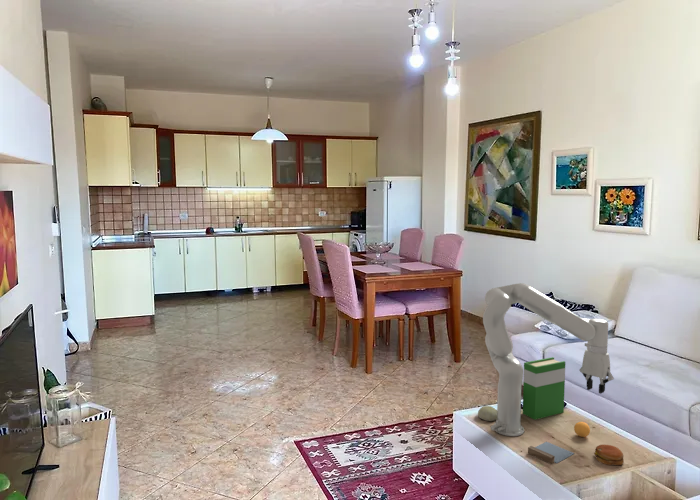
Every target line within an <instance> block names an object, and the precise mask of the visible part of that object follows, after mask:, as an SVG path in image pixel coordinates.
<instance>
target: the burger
mask: <svg viewBox="0 0 700 500" xmlns="http://www.w3.org/2000/svg"><path fill="white" fill-rule="evenodd" d="M593 454H594V456H595V459H596V461H598V462H599V463H601V464H603V465H605V466H606V465H607V466H613V465H614V466H619V465H620V466H621V465H624V453H623V452H622V450H621V449H619V448H618V447H617V446H615V445H611V444H599V445H597V446H596V447H595V450H594V452H593Z"/></svg>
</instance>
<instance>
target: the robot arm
mask: <svg viewBox="0 0 700 500" xmlns="http://www.w3.org/2000/svg"><path fill="white" fill-rule="evenodd" d="M484 301H485V303H486V305H487V306H486V308H485V309H484V312H483V313H482V314H483V316H482V323H483V326H484V330H485V333H486V334H485V338H484V341H485V343H484V344H485V346H486V349H487V351H488V354H489V357H490V359H491V362H492V365H493V367H494V369H495V370H496V371H497V373H498V383H497V404H496V405H497V407H496V408H497V409H496V410H497V420H495V422H494V423H493V424H492V425H491V426H490V430H491V431H495V432H496V433H497V434H500V435H503V436H507V437H517V436H518V437H519V436H521V435H523V434H524V433H525V428H524V426H523V425H521V418H522V417H521V416H522V414H521V413H522V411H521V410H522V387H523V386H522V385H523V380H524V367H523V365H522V364H521V362H520V361H519V359H517V358H516V357H515V356H514V354H513V350H514V349H513V347H514V346H513V340H511V336H510V334H509V332H508V327H507V325H506V321H505V316H506V314H507V312H508V311H509V310H510V309H511V306H512V305H513V304H514V305H515V304H517V303H518V304H519V305H521V306H523V307H524V308H525V309H528V311H531V312H533V314H536V315H537V316H540V317H541V318H543V319H544V320H546V321H547V322H549V323H551V324H553V325H556V326H557V327H558V328H560V329H562V330H564V331H566V332H568V333H569V334H570V335H572V336H574V337H576V338H578V339H579V340H581V341H583V342H584V341H585V343H584V347H586V349H585V350H584V354H583V356H582V357H583V359H582V363H581V364H582V365H581V367H580V368H579V372H580V373H581V374H582V375H583V377H584V378H585V381H586V390H588V391H590V390H592V389H593V382H594V380H593V379H592V377H595V378H599V384H598V394H604V392H605V391H606V384H608V382H611V381H612V380H614V379H615V378H614V375H612V373H611V359H610V355H609V354H610V353H609V352H608V345H609V343H608V341H609V340H608V339H609V322H608V321H607V320H605V319H602V318H583V317H580V316H579V315H576V314H575V313H573V312H572V311H571V310H569V309H567V308H566V307H564V306H563V305H562V304H560V303H559V302H557V301H556V300H554V299H552V298H551V297H549V296H547V295H545V294H544V293H542V292H540V291H539V290H537V289H535V288H534V287H532V286H530V285H529V284H526V283H523V282H522V283H521V282H519V283H513V284H509V285H504V286H497V287H493V288H491V289H489V290H488V291H486V292H485V296H484ZM606 377H607V378H606Z"/></svg>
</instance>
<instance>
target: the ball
mask: <svg viewBox="0 0 700 500" xmlns="http://www.w3.org/2000/svg"><path fill="white" fill-rule="evenodd" d="M573 429H574V430H573V431H574V433H575V434H576V435H577V436H578V437H581V438H586V437H587V436H589V435H590V433H591V428H590V426H589V424H588V423H586V421H585V422H584V421H579V422H576V423H575V424H574V427H573Z"/></svg>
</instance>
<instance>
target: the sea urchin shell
mask: <svg viewBox="0 0 700 500" xmlns="http://www.w3.org/2000/svg"><path fill="white" fill-rule="evenodd" d="M477 415H478V418H479V419H481V420H483V421H486V422H493V421H496V420H497V409H495V408H494V407H492V406H491V405H485V406H481V407H480V408H479V410H478V412H477Z"/></svg>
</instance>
